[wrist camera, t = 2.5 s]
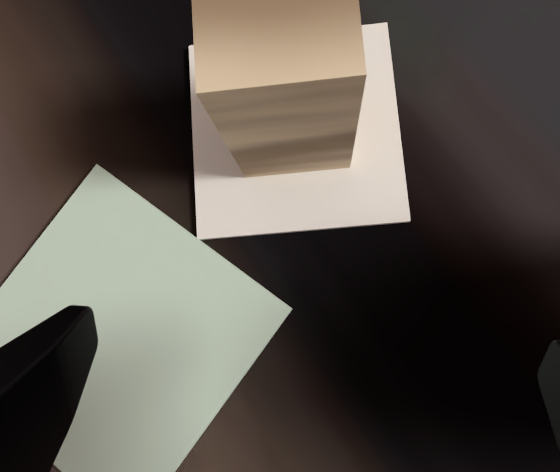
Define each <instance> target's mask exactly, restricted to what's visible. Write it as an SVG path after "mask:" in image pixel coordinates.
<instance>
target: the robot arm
mask: <svg viewBox="0 0 560 472" xmlns="http://www.w3.org/2000/svg"><path fill="white" fill-rule="evenodd" d="M97 346H98V335H97V329H96V324H95V318H94V313H93V310H92V308H91V307H89V306H80V305H70V306H67V307H65V308H64V309H62V310H60V311H59V312H57V313H56V314H54V315H52V316H51V317H49V318H47V319H46V320H44V321H42V322H41V323H39V324H38V325H36V326H34V327H33V328H31V329H29V330H28V331H26V332H24V333H23V334H21V335H20V336H18V337H16V338H15V339H13V340H11V341H10V342H8V343H6V344H5V345H3V346H2V347H0V472H50V470H51V468H52V466H53V464H54V461H55V459H56V457H57V455H58V453H59V451H60V448H61V446H62V444H63V442H64V440H65V438H66V435H67V433H68V431H69V429H70V426H71V424H72V422H73V419H74V416H75V414H76V411H77V408H78V405H79V402H80V399H81V396H82V393H83V390H84V387H85V384H86V381H87V378H88V375H89V372H90V369H91V366H92V363H93V360H94V357H95V354H96V351H97ZM537 379H538V384H539V388H540V391H541V394H542V397H543V401H544V404H545V407H546V411H547V414H548V417H549V421H550V424H551V427H552V431H553V434H554V437H555V440H556V444H557V447H558V450H559V453H560V340H553V341H552V342H551V343H550V344H549V346H548V348H547V351H546V353H545V355H544V357H543V360H542V362H541V364H540V366H539V368H538V373H537Z"/></svg>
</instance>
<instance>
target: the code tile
mask: <svg viewBox="0 0 560 472" xmlns="http://www.w3.org/2000/svg"><path fill="white" fill-rule="evenodd" d="M361 26H362V36H363V45H364V54H365V63H366V73H367V76H366V81H365V87H364V93H363V98H362V104H361V109H360V115H359V121H358V126H357V132H356V137H355V143H354V148H353V154H352V160H351V165H350V168H341V169H330V170H320V171H309V172H299V173H288V174H278V175H267V176H257V177H246V178H245V176H244V174H243V173H242V171H241V169H240V167H239V166H238V164H237V162H236V161H235V159H234V157H233V156H232V154H231V152H230V150H229V149H228V147H227V145H226V144H225V142H224V140H223V139H222V137H221V135H220V133H219V132H218V130H217V128H216V127H215V125H214V123H213V122H212V120H211V118H210V116H209V115H208V113H207V111H206V110H205V108H204V106H203V105H202V103H201V101H200V99H199V98H198V96H197V94H196V83H195V61H194V45H193V46H189V66H190V89H191V112H192V135H193V158H194V181H195V204H196V227H197V239H199V240H209V239H221V238H233V237H244V236H256V235H268V234H279V233H291V232H303V231H314V230H326V229H338V228H349V227H361V226H373V225H384V224H396V223H408V222H410V221H411V220H410V212H409V203H408V195H407V186H406V178H405V169H404V161H403V152H402V144H401V136H400V127H399V119H398V110H397V102H396V93H395V85H394V76H393V68H392V59H391V51H390V42H389V34H388V25H387V22H386V23H378V24H370V25H361Z"/></svg>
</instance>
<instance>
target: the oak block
mask: <svg viewBox="0 0 560 472" xmlns="http://www.w3.org/2000/svg"><path fill="white" fill-rule="evenodd" d="M192 18H193V39H194V61H195V83H196V94H197V96H198V98H199V99H200V101H201V103H202V105H203V106H204V108H205V110H206V111H207V113H208V115H209V116H210V118H211V120H212V122H213V123H214V125H215V127H216V128H217V130H218V132H219V133H220V135H221V137H222V139H223V140H224V142H225V144H226V145H227V147H228V149H229V150H230V152H231V154H232V156H233V157H234V159H235V161H236V162H237V164H238V166H239V167H240V169H241V171H242V173H243V174H244V176H245V178H246V177H257V176H267V175H278V174H288V173H299V172H309V171H320V170H330V169H341V168H350V165H351V160H352V154H353V148H354V143H355V137H356V132H357V126H358V121H359V115H360V109H361V104H362V98H363V93H364V87H365V81H366V76H367V73H366V63H365V54H364V45H363V36H362V26H361V17H360V8H359V0H192Z"/></svg>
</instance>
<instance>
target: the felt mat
mask: <svg viewBox="0 0 560 472" xmlns="http://www.w3.org/2000/svg"><path fill="white" fill-rule="evenodd" d="M70 305H80V306H89V307H91V308H92V310H93V313H94V318H95V324H96V329H97V335H98V346H97V351H96V354H95V357H94V360H93V363H92V366H91V369H90V372H89V375H88V378H87V381H86V384H85V387H84V390H83V393H82V396H81V399H80V402H79V405H78V408H77V411H76V414H75V416H74V419H73V422H72V424H71V426H70V429H69V431H68V433H67V435H66V438H65V440H64V442H63V444H62V446H61V448H60V451H59V453H58V455H57V457H56V459H55V461H54V465H55V466H56V467H57V468H58V469H59V470H60V471H62V472H175V471H176V470H177V469H178V467H179V466H180V464H181V463H182V462H183V460H184V459H185V457H186V456H187V455H188V453H189V452H190V451H191V449H192V448H193V446H194V445H195V444H196V442H197V441H198V439H199V438H200V437H201V435H202V434H203V432H204V431H205V430H206V428H207V427H208V426H209V424H210V423H211V421H212V420H213V419H214V417H215V416H216V414H217V413H218V412H219V410H220V409H221V407H222V406H223V405H224V403H225V402H226V401H227V399H228V398H229V396H230V395H231V394H232V392H233V391H234V389H235V388H236V387H237V385H238V384H239V383H240V381H241V380H242V378H243V377H244V376H245V374H246V373H247V371H248V370H249V369H250V367H251V366H252V364H253V363H254V362H255V360H256V359H257V358H258V356H259V355H260V353H261V352H262V351H263V349H264V348H265V346H266V345H267V344H268V342H269V341H270V339H271V338H272V337H273V335H274V334H275V333H276V331H277V330H278V328H279V327H280V326H281V324H282V323H283V321H284V320H285V319H286V317H287V316H288V315H289V313H290V312H291V310H292V308H291V307H289V306H288V305H287V304H285V303H284V302H283V301H281V300H280V299H279V298H277V297H276V296H275V295H273V294H272V293H271V292H269V291H268V290H267V289H265V288H264V287H263V286H261V285H260V284H258V283H257V282H256V281H254V280H253V279H252V278H250V277H249V276H248V275H246V274H245V273H244V272H242V271H241V270H240V269H238V268H237V267H236V266H234V265H233V264H232V263H230V262H229V261H227V260H226V259H225V258H223V257H222V256H221V255H219V254H218V253H217V252H215V251H214V250H213V249H211V248H210V247H209V246H207V245H206V244H205V243H203V242H202V241H200V240H199V239H197V238H196V237H195V236H194V235H192V234H191V233H190V232H188V231H187V230H186V229H184V228H183V227H182V226H180V225H179V224H178V223H176V222H175V221H174V220H172V219H171V218H169V217H168V216H167V215H165V214H164V213H163V212H161V211H160V210H159V209H157V208H156V207H155V206H153V205H152V204H151V203H149V202H148V201H147V200H145V199H144V198H143V197H141V196H140V195H138V194H137V193H136V192H134V191H133V190H132V189H130V188H129V187H128V186H126V185H125V184H124V183H122V182H121V181H120V180H118V179H117V178H116V177H114V176H113V175H111V174H110V173H109V172H107V171H106V170H105V169H103V168H102V167H101V166H99V165H98V164H96V165H95V167H94V168H93V169H92V170H91V172H90V173H89V174H88V176H87V177H86V178H85V179H84V181H83V182H82V183H81V185H80V186H79V187H78V188H77V190H76V191H75V192H74V194H73V195H72V196H71V197H70V199H69V200H68V201H67V203H66V204H65V205H64V206H63V208H62V209H61V210H60V212H59V213H58V214H57V215H56V217H55V218H54V219H53V221H52V222H51V223H50V224H49V226H48V227H47V228H46V230H45V231H44V232H43V233H42V235H41V236H40V237H39V239H38V240H37V241H36V242H35V244H34V245H33V246H32V248H31V249H30V250H29V251H28V253H27V254H26V255H25V257H24V258H23V259H22V260H21V262H20V263H19V264H18V266H17V267H16V268H15V269H14V271H13V272H12V273H11V275H10V276H9V277H8V278H7V280H6V281H5V282H4V284H3V285H2V286H1V287H0V347H2V346H3V345H5V344H6V343H8V342H10V341H11V340H13V339H15V338H16V337H18V336H20V335H21V334H23V333H24V332H26V331H28V330H29V329H31V328H33V327H34V326H36V325H38V324H39V323H41V322H42V321H44V320H46V319H47V318H49V317H51V316H52V315H54V314H56V313H57V312H59V311H60V310H62V309H64V308H65V307H67V306H70Z"/></svg>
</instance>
